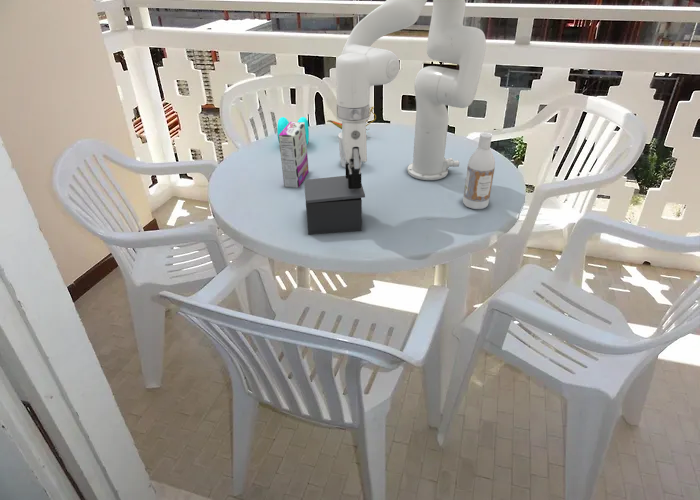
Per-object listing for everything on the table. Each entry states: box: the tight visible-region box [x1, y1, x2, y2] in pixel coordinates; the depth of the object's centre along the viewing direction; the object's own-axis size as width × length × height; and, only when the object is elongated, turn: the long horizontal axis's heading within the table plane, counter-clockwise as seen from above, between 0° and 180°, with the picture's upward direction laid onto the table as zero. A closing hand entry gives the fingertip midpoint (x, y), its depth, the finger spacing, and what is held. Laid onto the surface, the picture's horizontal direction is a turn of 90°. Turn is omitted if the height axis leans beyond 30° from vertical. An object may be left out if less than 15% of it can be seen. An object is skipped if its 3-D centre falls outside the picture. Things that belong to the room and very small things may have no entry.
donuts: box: [276, 116, 310, 145], centre depth 167 cm, size 10×10×10 cm
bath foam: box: [462, 132, 496, 210], centre depth 128 cm, size 7×7×20 cm
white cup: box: [338, 131, 363, 169], centre depth 153 cm, size 8×8×10 cm
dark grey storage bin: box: [303, 184, 363, 235], centre depth 124 cm, size 14×12×9 cm
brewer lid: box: [303, 164, 366, 204], centre depth 120 cm, size 14×12×6 cm
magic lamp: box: [326, 106, 377, 131], centre depth 173 cm, size 7×18×11 cm, turn 99°
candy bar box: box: [277, 121, 310, 189], centre depth 142 cm, size 11×5×16 cm, turn 168°
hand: (353, 182), depth 121 cm, fingers closed on brewer lid, 5 cm apart
